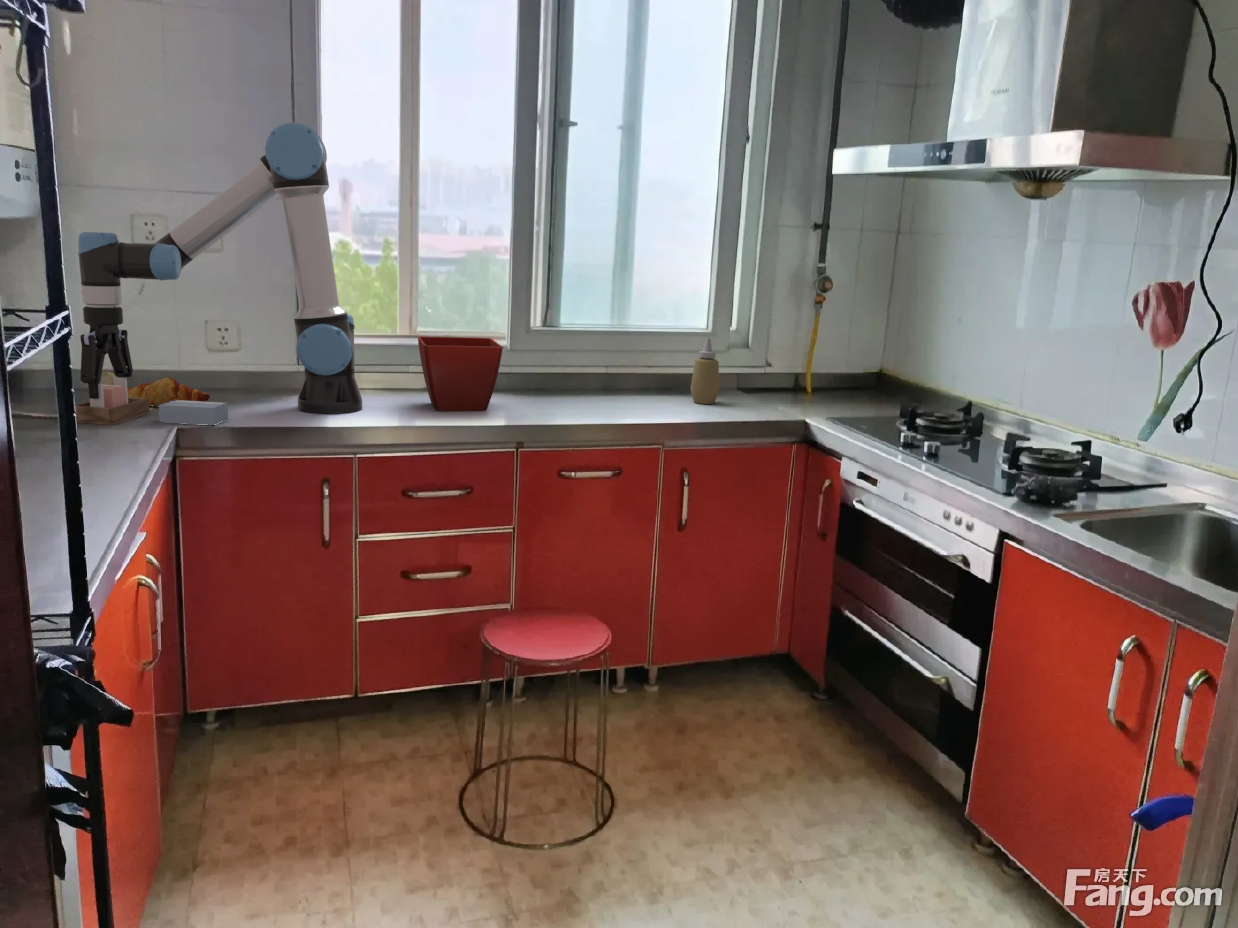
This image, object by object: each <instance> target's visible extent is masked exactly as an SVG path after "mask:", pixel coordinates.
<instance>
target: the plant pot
mask: <svg viewBox="0 0 1238 928" xmlns="http://www.w3.org/2000/svg"><path fill="white" fill-rule="evenodd" d="M417 342H418V343H417V344H418V349H419V359H420V364H421V369H422V373H423V377H424V383H425V386H426V390H427V394H428V396H429V400H430V403H431V405H432V407H433V408H434V410H435V411H437V412H483V411H484V412H485V411H487V410H488V407H489V404H490V402H491V399H492V397H493V392H494V390H495V386H496V383H497V379H498V375H499V370H500V366H501V365H500V364H501V361H502V355H503V349H504V348H503V346H502V345H501V344H500V343H498V342H497V341H495V340H494V339H493V338H490V337H458V336H457V337H456V336H418V337H417Z"/></svg>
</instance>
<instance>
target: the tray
mask: <svg viewBox="0 0 1238 928" xmlns="http://www.w3.org/2000/svg"><path fill="white" fill-rule="evenodd" d="M75 405H76V412H77V424H89V425H91V424H92V425H93V424H94V425H108V426H109V425H111V426H115V425H119V424H121V423H125V422H128V421H131V419H132V420H135V419H137V418H136V417H138V416H141V415H143V414H146V413H151V412H150V411H151V410H150V407H149V399H142V398H128V404H124V405H121V406H117V407H114V408H100V407H90V400H88V401H87V400H86V401H84V402H80V403H76V404H75ZM141 417H142V416H141ZM134 418H135V419H134ZM138 418H139V417H138ZM124 421H125V422H124Z"/></svg>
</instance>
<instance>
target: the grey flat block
mask: <svg viewBox="0 0 1238 928" xmlns="http://www.w3.org/2000/svg"><path fill="white" fill-rule="evenodd" d="M228 404H229V403H228V402H221V401H220V402H217V401H205V402H203V401H186V400H173V401H170V402H166V403H162V404H160V405H159V407H158V416H159V423H160V422H166V423H187V424H208V425H214V424H217V423H219V422H221V421H226V420H228V421H229V405H228ZM226 422H227V421H226ZM166 423H165V424H166Z"/></svg>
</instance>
